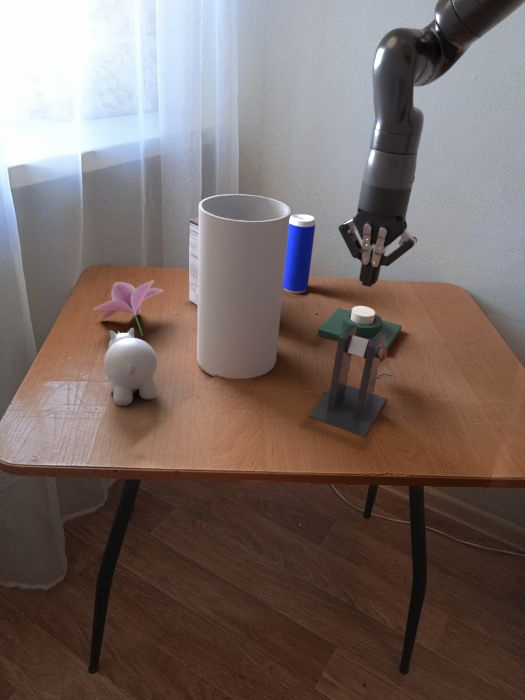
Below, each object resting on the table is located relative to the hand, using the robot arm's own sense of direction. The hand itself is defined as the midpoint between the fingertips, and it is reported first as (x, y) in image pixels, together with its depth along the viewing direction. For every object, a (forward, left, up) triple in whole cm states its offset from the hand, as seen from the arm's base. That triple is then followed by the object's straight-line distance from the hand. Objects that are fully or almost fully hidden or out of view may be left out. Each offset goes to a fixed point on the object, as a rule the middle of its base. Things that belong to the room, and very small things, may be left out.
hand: (367, 284), depth 94 cm
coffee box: (+28, +2, -11) cm, 30 cm away
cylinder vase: (+14, +19, -11) cm, 26 cm away
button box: (0, 0, -10) cm, 10 cm away
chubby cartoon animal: (+24, +33, -11) cm, 42 cm away
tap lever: (-6, +18, -4) cm, 19 cm away
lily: (+35, +19, -11) cm, 41 cm away
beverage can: (+18, -12, -11) cm, 24 cm away
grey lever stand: (-6, +22, -10) cm, 25 cm away
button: (0, 0, -7) cm, 7 cm away
